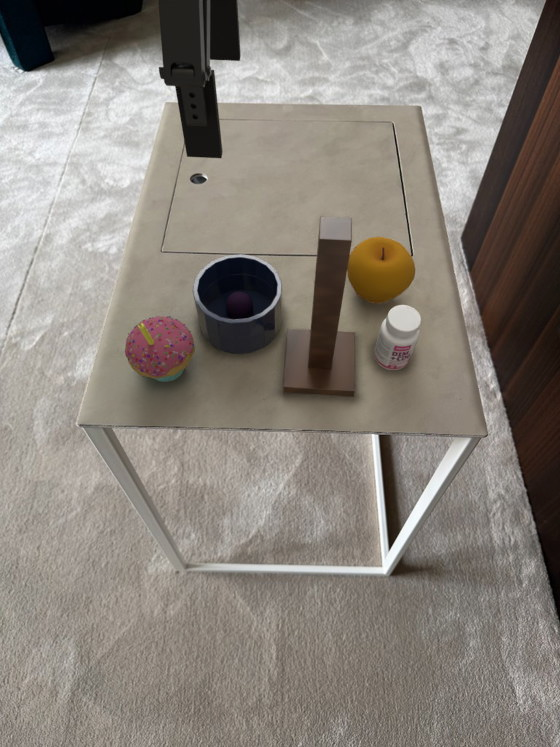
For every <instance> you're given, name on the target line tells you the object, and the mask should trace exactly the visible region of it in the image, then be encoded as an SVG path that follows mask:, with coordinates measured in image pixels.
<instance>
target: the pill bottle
mask: <svg viewBox="0 0 560 747" xmlns="http://www.w3.org/2000/svg"><path fill="white" fill-rule="evenodd" d="M421 324H422V316H421V315H420V312H419V311H418V310H417V309H416V308H414V307H413V306H410V305H408V304H407V305H406V304H398V305H395V306H393V307H392V308H391V309H390V310H389V311H388V313H387V315H386V317H385V319H383V321H382V323H381V325H380V329H379V333H378V336H377V339H376V343H375V347H374V351H373V356H374V357H373V358H374V359H375V362H376V363H377V365H379V366H380V367H381V368H383V369H385V370H388V371H399V370H401V369H403V368H405V367H406V366H407V365H408V364H409V362H410V360H411V358H412V354H413V353H414V350H415V347H416V345H417V342H418V340H419V337H420V331H421V330H420V326H421Z"/></svg>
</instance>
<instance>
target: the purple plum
mask: <svg viewBox="0 0 560 747" xmlns="http://www.w3.org/2000/svg"><path fill="white" fill-rule="evenodd" d="M226 312H227V318H228V319H233V320H234V319H246V318H250V317H252V316H254V314H253V302H252V299H251V298H250V296H249V295H247V294H246V293H244V292H235V293H233V294H231V295H230V296H229V297H228V299H227V301H226Z"/></svg>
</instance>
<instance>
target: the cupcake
mask: <svg viewBox="0 0 560 747" xmlns="http://www.w3.org/2000/svg"><path fill="white" fill-rule="evenodd" d="M195 345H196V344H195V339H194V336H193V334H192V331H190V329H189V328H188V326H187V325H186V323H184V322H182V321H181V320H178V319H177V318H173V317H171V315H168V316H161V315H158V316H153V317H148V318H146V319H143V320H142V321H141V322H137V324H135V326H134V327H133V328H132V330H131V331H130V332H128V333H127V338H126V339H125V348H124V355H125V357H126V359H127V362H128V364H129V366H130V368H131V369H132V370H133V371H134V372H136V373H137V374H138V375H139V376H142V377H144V378H145V377H147V378H151V379H154V380H155V381H158V382H161V383H164V382H165V383H166V382H171V381H174V380H177V379H178V378H179V377H180V376H181V375H182V374H183V372H184V370H185V369H186V368H187V367H188V366H189V364H190V362H191V360H192V358H193V356H194V354H195V351H196V346H195Z"/></svg>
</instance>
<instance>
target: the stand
mask: <svg viewBox="0 0 560 747" xmlns="http://www.w3.org/2000/svg"><path fill="white" fill-rule="evenodd" d="M317 236H318V237H317V248H316V260H315V261H316V262H315V272H314V285H313V296H312V305H311V306H312V309H311V319H310V329H302V328H287V329H286V340H285V352H284V353H285V354H284V367H283V379H282V381H283V382H282V393H285V394H299V395H301V394H302V395H316V396H331V397H347V398H349V397H351V398H353V397H355V393H356V332H355V331H338V329H339V325H340V319H341V318H340V317H341V312H342V305H343V298H344V292H345V287H346V279H347V275H348V273H347V268H348V262H349V256H350V254H351V248H352V242H353V241H352V240H353V218H352V217H341V216H340V217H339V216H320V217H319V225H318V235H317Z"/></svg>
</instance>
